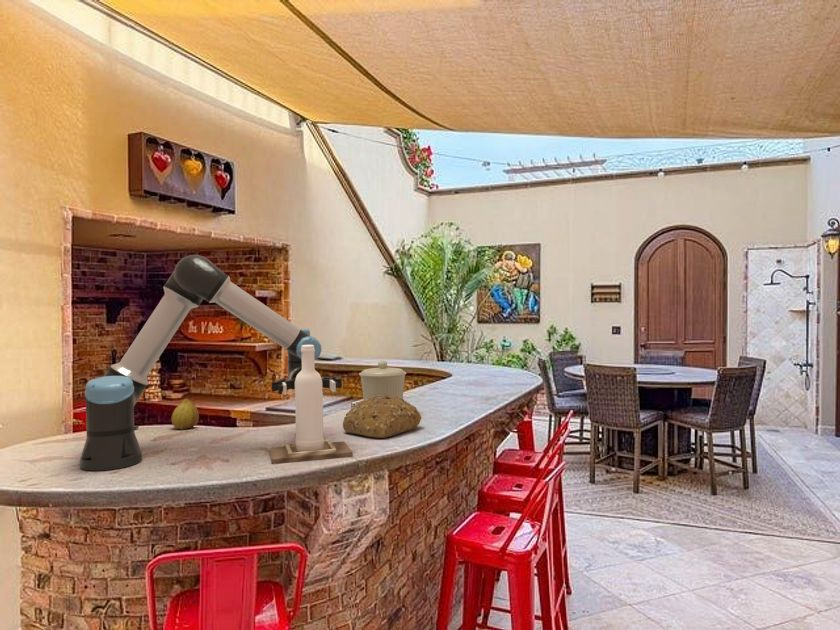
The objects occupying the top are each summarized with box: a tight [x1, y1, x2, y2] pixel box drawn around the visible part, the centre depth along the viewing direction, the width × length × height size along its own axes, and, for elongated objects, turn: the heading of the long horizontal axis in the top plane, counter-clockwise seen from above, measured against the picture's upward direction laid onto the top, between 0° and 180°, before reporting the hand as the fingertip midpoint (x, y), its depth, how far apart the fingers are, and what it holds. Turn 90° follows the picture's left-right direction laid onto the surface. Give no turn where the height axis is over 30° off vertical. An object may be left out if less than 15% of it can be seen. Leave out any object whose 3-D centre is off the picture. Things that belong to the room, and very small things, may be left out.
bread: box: [342, 395, 422, 439], centre depth 197 cm, size 24×21×12 cm
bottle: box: [294, 345, 325, 452], centre depth 167 cm, size 8×8×30 cm
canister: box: [358, 360, 407, 400], centre depth 224 cm, size 18×18×21 cm
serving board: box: [269, 439, 354, 465], centre depth 168 cm, size 22×14×2 cm, turn 107°
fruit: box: [170, 393, 200, 430], centre depth 207 cm, size 9×9×12 cm
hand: (310, 388), depth 164 cm, fingers open, 13 cm apart
